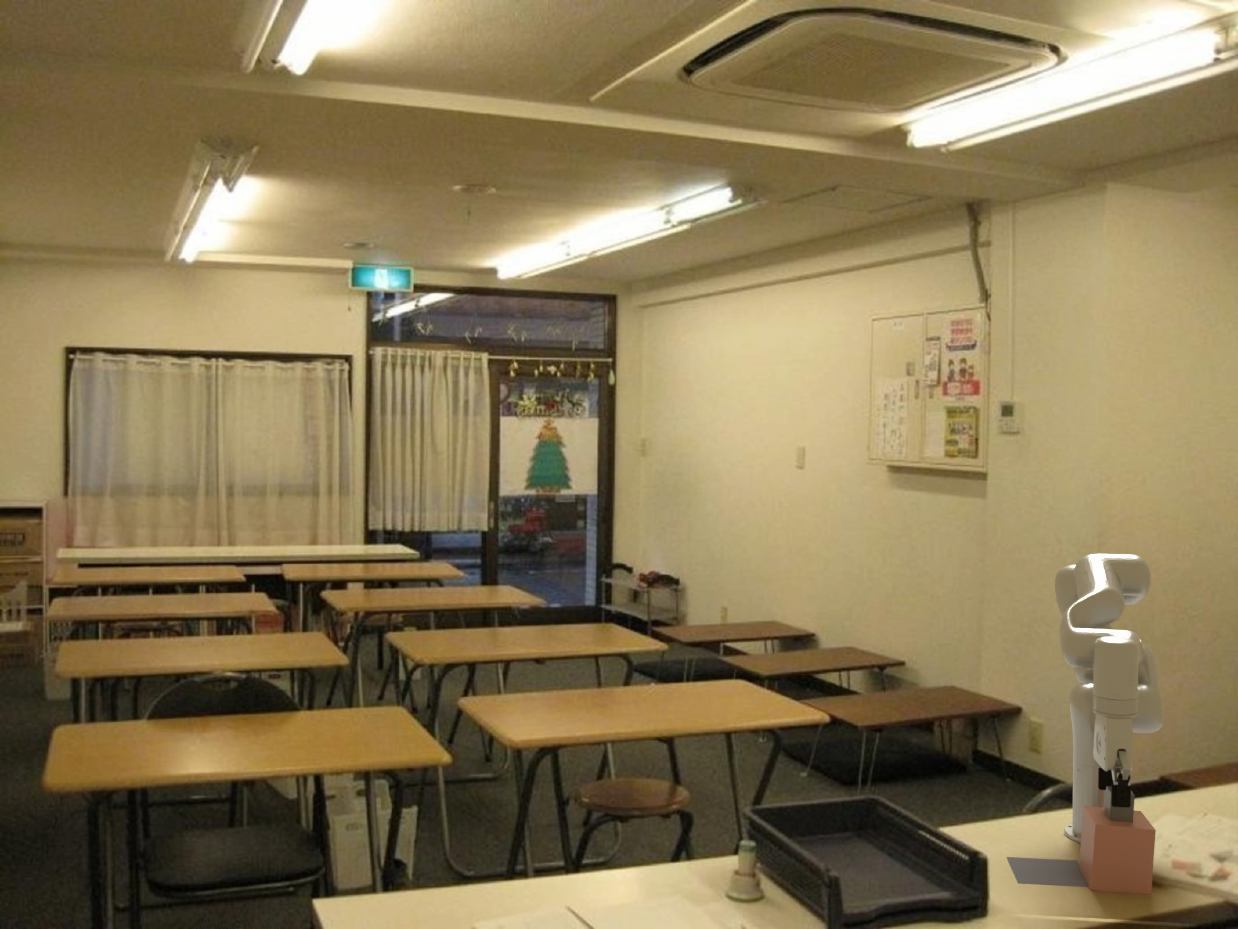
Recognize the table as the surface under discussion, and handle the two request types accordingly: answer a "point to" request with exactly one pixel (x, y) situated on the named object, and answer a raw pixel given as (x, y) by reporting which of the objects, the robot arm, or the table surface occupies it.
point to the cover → (1117, 848)
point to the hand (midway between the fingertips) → (1113, 798)
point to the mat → (1047, 871)
